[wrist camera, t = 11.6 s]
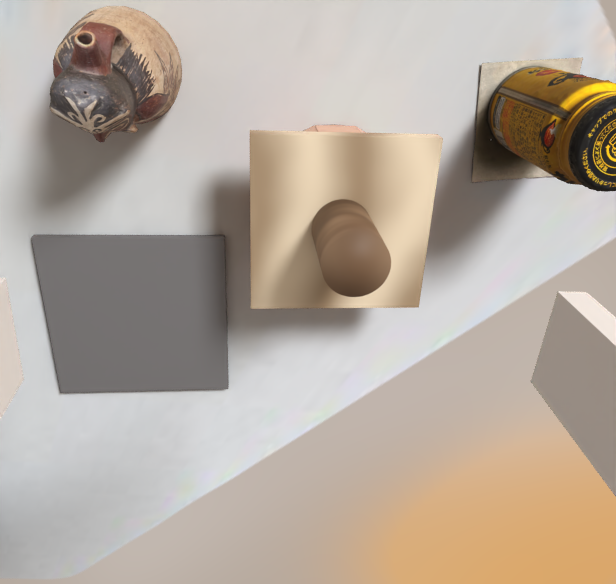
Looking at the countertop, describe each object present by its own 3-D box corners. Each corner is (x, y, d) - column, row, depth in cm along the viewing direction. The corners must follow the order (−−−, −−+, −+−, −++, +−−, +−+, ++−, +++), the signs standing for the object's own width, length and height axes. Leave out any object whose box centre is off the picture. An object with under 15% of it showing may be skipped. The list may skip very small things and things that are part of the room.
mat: (62, 388, 49) (60, 392, 49) (33, 234, 43) (31, 237, 42) (228, 384, 50) (228, 389, 50) (224, 235, 44) (224, 238, 44)
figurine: (63, 100, 39) (-6, 140, 28) (81, -12, 36) (11, -16, 25) (169, 134, 40) (141, 183, 30) (194, 28, 37) (173, 42, 27)
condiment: (581, 57, 41) (699, 78, 30) (562, 175, 44) (660, 231, 34) (480, 62, 40) (564, 86, 29) (469, 181, 44) (540, 240, 33)
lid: (250, 300, 41) (251, 356, 35) (249, 130, 36) (249, 159, 29) (414, 299, 42) (443, 353, 36) (437, 134, 37) (476, 163, 31)
